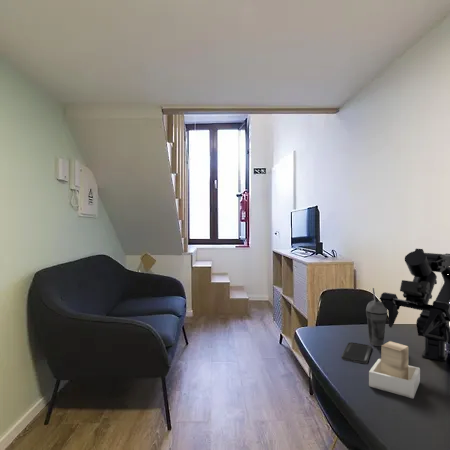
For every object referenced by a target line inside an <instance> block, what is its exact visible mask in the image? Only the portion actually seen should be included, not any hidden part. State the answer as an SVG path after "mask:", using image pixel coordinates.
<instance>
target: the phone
mask: <svg viewBox="0 0 450 450" xmlns="http://www.w3.org/2000/svg"><path fill="white" fill-rule="evenodd" d="M372 350H373V345H371V344H370V345H369V344H363V343H357V342H348V343H347V345H346V347H345V348H344V350H343V352H342V354H341V358H340V359H342V360H344V361H348V362H354V363H359V364H368V361H369V359H370V356H371V353H372Z"/></svg>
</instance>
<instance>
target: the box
mask: <svg viewBox="0 0 450 450" xmlns="http://www.w3.org/2000/svg"><path fill="white" fill-rule="evenodd" d="M420 383H421V367H417V366H413V365H409V364H408V380H406V379H402V378H398V377H394V376H390V375H386V374H382V373H381V358H378V359H377V360H376V361H375V363H374V364H373V365H372V367H371V368H370V370H369V371H368V387H369V388H370V387H371V388H374V389H377V390H381V391H384V392H388V393H392V394H396V395H398V396H403V397H406V398H410V399H413V400H414V398H415V396H416V393H417V391H418V388H419V386H420Z"/></svg>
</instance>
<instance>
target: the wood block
mask: <svg viewBox="0 0 450 450" xmlns="http://www.w3.org/2000/svg"><path fill="white" fill-rule="evenodd" d="M380 347H381V348H380V349H381V351H380V353H381V354H380V355H381V357H380V359H381V373H382V374H386V375H390V376H394V377H398V378H402V379H406V380H408V365H409V346H408V345H405V344H402V343H398V342H394V341H392V340H389V341H388V342H386V343H383V345H381V346H380Z"/></svg>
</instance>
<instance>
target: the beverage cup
mask: <svg viewBox="0 0 450 450" xmlns="http://www.w3.org/2000/svg"><path fill="white" fill-rule="evenodd" d="M372 293H373V300H371V301H369V302H368V303H367V305H366V309H365V315H366V319H367V329H368V331H367V332H368V333H367V334H368V340H369V344H370V346H376V347H381V345H383V344H384V341H385V333H386V323H387V317H388V315H389V314H388V310H387V309H386V308H385V307H384V305H383V303H382V302H381V300H380V299H376V295H375V294H376V293H375V288H374V287H372Z"/></svg>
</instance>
